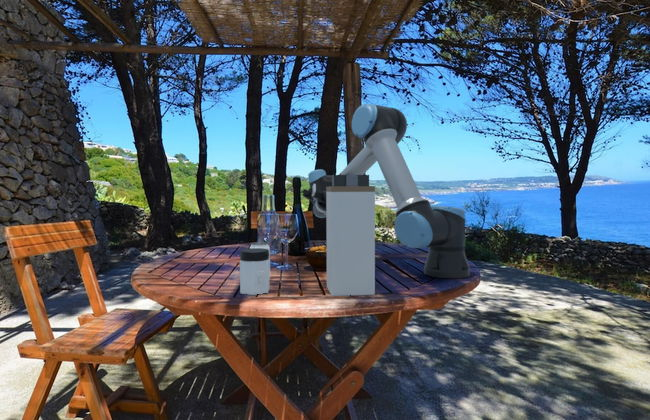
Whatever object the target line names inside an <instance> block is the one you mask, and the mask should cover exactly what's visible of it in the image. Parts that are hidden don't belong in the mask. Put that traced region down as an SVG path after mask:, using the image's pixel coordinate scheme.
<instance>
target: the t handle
mask: <svg viewBox="0 0 650 420" xmlns="http://www.w3.org/2000/svg"><path fill="white" fill-rule="evenodd" d="M331 176H332V186H370V174H363V175H339V174H332V175H331Z"/></svg>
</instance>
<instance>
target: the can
mask: <svg viewBox="0 0 650 420" xmlns="http://www.w3.org/2000/svg"><path fill="white" fill-rule="evenodd" d="M252 248H262V249H268V250H269V280H271V250H270V249H271V248H270V245H269V242H266V241H256V242H250V247H249V249H252Z"/></svg>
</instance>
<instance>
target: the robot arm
mask: <svg viewBox="0 0 650 420" xmlns="http://www.w3.org/2000/svg"><path fill="white" fill-rule="evenodd" d="M407 129H408V122H407V119H406V116H405V115H404V113H403V112H402V111H401V110H400V109H397V108H396V107H395V108H394V107H389V106H383V105H378V104H374V103H364V104H362V105H361V104H360V105H359V107H357V109H356V110H355V112H354V113H353V115H352V119H351V131H352V133H353V134H354V136H356V137H357V138H359V139H362V140H363V142H364V145H365V146H364V147H363V148H362V149H361V150H360V151H359V153H357V155H356V156H355V157H354V158H353V159H352V160H351V161H350V162H349V163H348V165H347V166H345V168H344V169H343V170H342V171H341V172H340V173H339V174H338V175H365V174H366V173H367V172H368V171H369V170H370V169H371V168H372V167H373V166H374V165H375V164H376V162H377V164H378V165H379V168H380V171H381V173H382V176H383V178H384V180H385V183H386V184H387V187H388V190H389V191H390V194H391V196H392V199H393V201H394V204H395V206H396V208H397V209H396V211H395V214H394V215H395V217H396V218H395V219H394V224H395V225H394V227H393V228H394V234H395V236H396V238H397V239H398V241H399V242H400V243H401V244H402V245H404V246H405V247H407V248H410V249H411V248H412V249H415V248H416V249H424V248H427V247H428V249H429V250H428V254H427V257H426V261H425V263H424V267H423V275H425V276H429V277H434V278H440V279H464V278H469V277H470V276H471V275H470V273H471V269H470V265H469V263H468V258H467V255H466V253H465V252H466V251H465V248H466V247H465V246H466V245H465V244H466V243H465V242H466V239H465V238H466V234H465V233H466V213H465V210H464V209H463V208H461V207H455V206H445V205H444V206H443V205H431V203H430V201H429V199H427V198H423V197H422V195H421V193H420V191H419V188H418V186H417V184H416V182H415V180H414V178H413V175H412V172H411V171H410V169H409V167H408V165H407V162H406V160H405V157H404V156H403V154H402V151H401V149H400V146H399V143H400V142H401V141H402V139H403V138H404V137H405V135H406V133H407ZM307 175H308V184H309V185H308V186H309V188H308V189H302V197H303V198H305V199H307V200H309V202H310V203H312V205H313V206H312V213H313V214H314V215H315V217H317V218H320V219H324V218H326V187H330V186H332V175H327V173H326V170H324V169H321V168H320V169H314V170H311V171H310V172H309V173H308V174H307Z"/></svg>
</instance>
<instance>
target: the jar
mask: <svg viewBox="0 0 650 420" xmlns="http://www.w3.org/2000/svg"><path fill="white" fill-rule="evenodd" d="M239 252H240V253H239V254H240V255H239V256H240V258H239V259H240V260H239V284H240V285H239V289H240V290H239V293H240V294H241V295H246V294H247V295H248V296H258V295H257V294H260V295H264V294H263V293H267V294H269V292H270V279H269V250H268V249H262V248H252V249H250V248H244V249H241V250H240V251H239ZM247 295H246V296H247Z"/></svg>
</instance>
